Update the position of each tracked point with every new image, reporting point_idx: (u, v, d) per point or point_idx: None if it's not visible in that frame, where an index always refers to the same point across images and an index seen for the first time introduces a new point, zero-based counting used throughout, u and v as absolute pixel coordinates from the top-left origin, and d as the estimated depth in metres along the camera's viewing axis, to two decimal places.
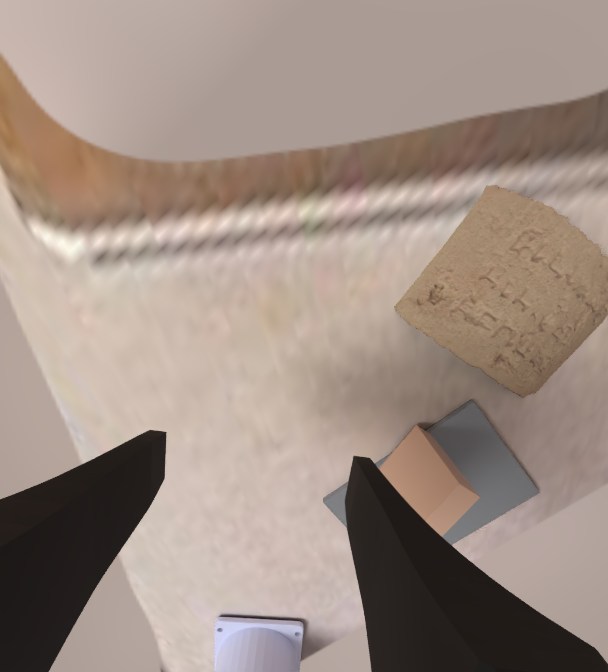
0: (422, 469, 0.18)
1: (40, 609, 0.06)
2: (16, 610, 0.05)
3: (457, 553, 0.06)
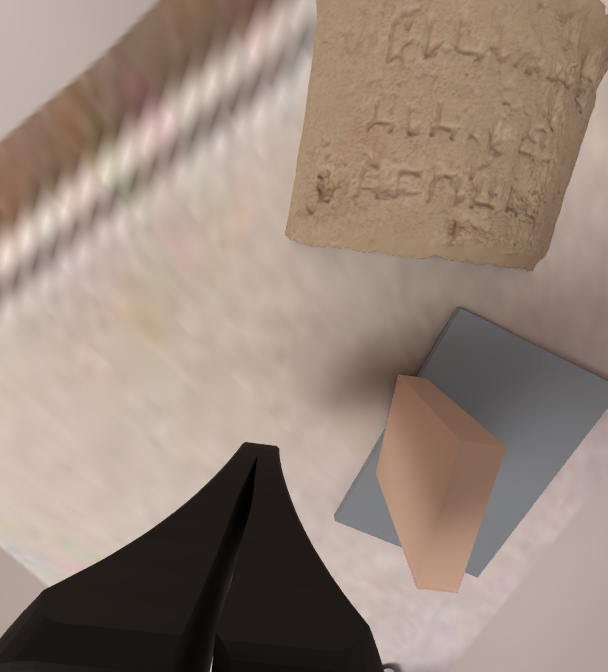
0: (417, 434, 0.12)
1: (211, 627, 0.06)
2: (206, 630, 0.05)
3: (302, 535, 0.06)
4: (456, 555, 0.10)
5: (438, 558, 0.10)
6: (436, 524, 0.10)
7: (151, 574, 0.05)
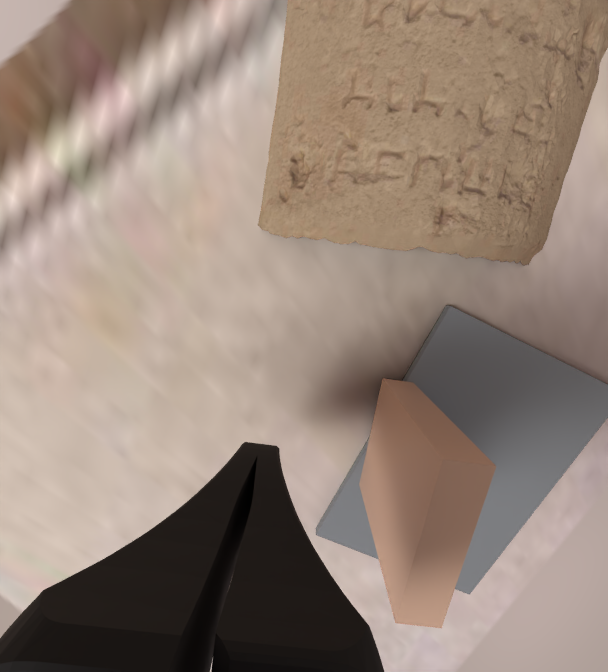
0: (399, 447, 0.10)
1: (211, 627, 0.06)
2: (206, 630, 0.05)
3: (302, 535, 0.06)
4: (439, 587, 0.09)
5: (419, 590, 0.09)
6: (417, 553, 0.08)
7: (152, 574, 0.05)
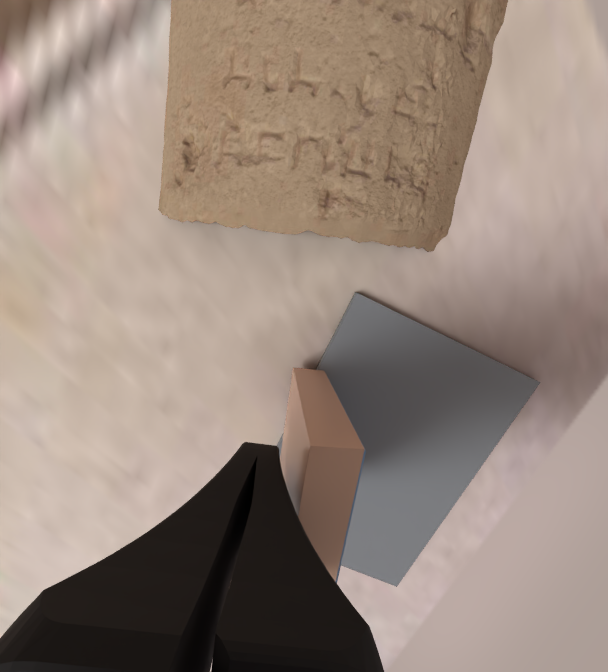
0: (294, 436, 0.10)
1: (211, 627, 0.06)
2: (206, 630, 0.05)
3: (302, 535, 0.06)
4: None
5: None
6: None
7: (151, 574, 0.05)
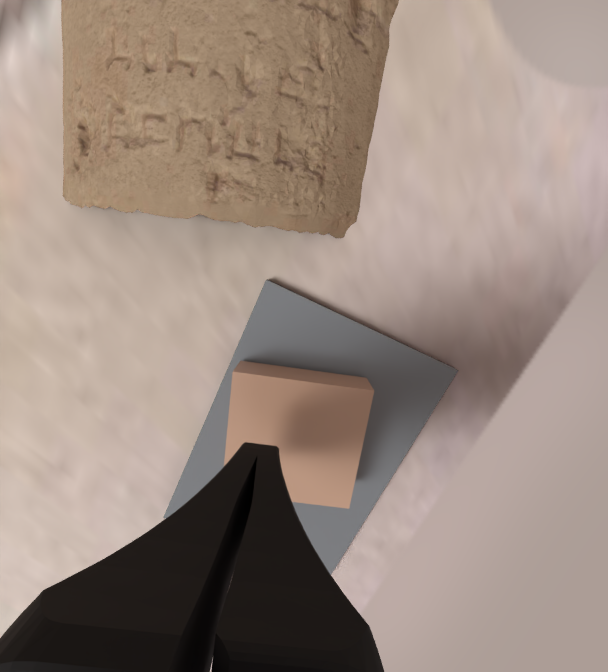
0: (307, 413, 0.12)
1: (211, 627, 0.06)
2: (206, 630, 0.05)
3: (302, 535, 0.06)
4: None
5: None
6: (359, 456, 0.13)
7: (151, 574, 0.05)
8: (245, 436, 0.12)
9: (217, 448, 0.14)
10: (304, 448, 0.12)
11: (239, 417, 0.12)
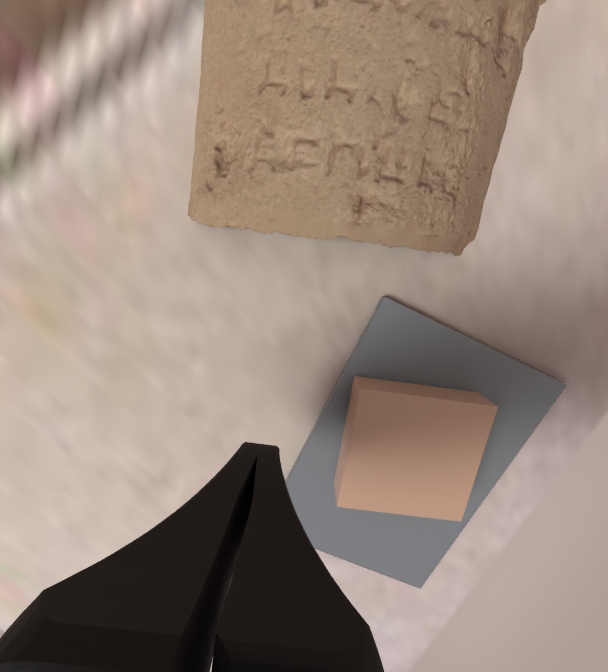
0: (430, 429, 0.12)
1: (211, 627, 0.06)
2: (206, 630, 0.05)
3: (302, 535, 0.06)
4: None
5: None
6: (476, 470, 0.13)
7: (151, 574, 0.05)
8: (366, 451, 0.13)
9: (322, 461, 0.14)
10: (423, 463, 0.13)
11: (362, 433, 0.12)
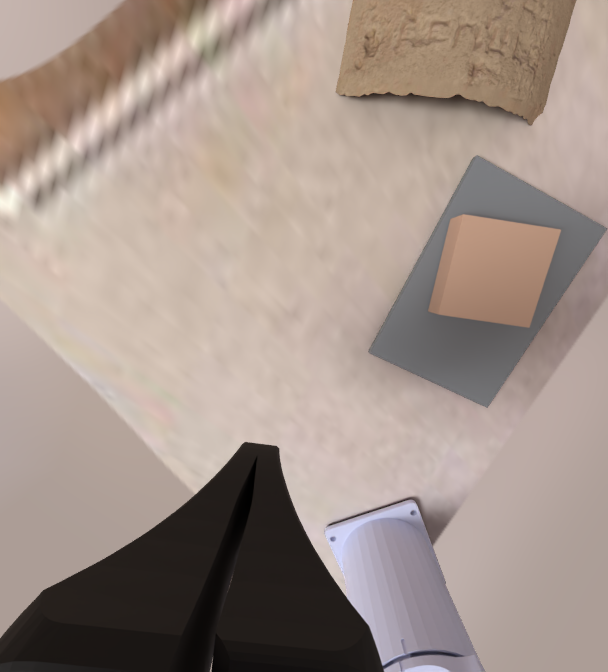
0: (511, 248, 0.17)
1: (211, 627, 0.06)
2: (206, 630, 0.05)
3: (302, 535, 0.06)
4: None
5: None
6: (543, 283, 0.17)
7: (152, 573, 0.05)
8: (463, 266, 0.17)
9: (420, 293, 0.19)
10: (504, 277, 0.17)
11: (462, 251, 0.17)
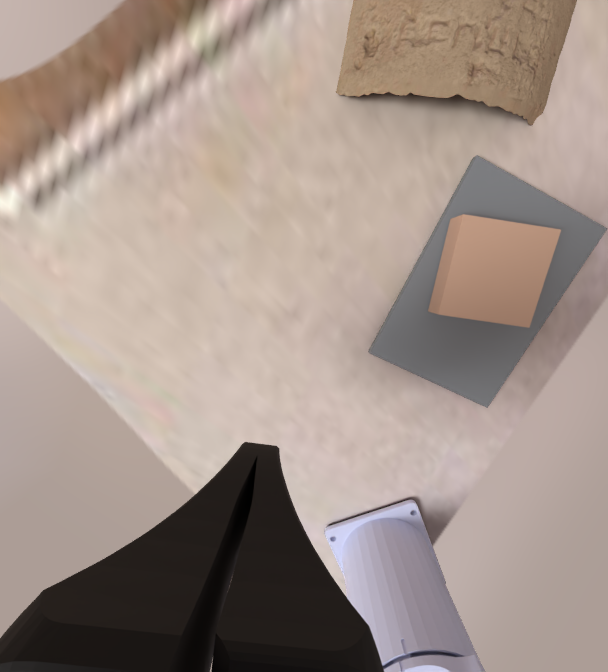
0: (511, 248, 0.17)
1: (211, 627, 0.06)
2: (206, 630, 0.05)
3: (302, 535, 0.06)
4: None
5: None
6: (543, 283, 0.17)
7: (152, 573, 0.05)
8: (463, 266, 0.17)
9: (420, 293, 0.19)
10: (504, 277, 0.17)
11: (462, 251, 0.17)
